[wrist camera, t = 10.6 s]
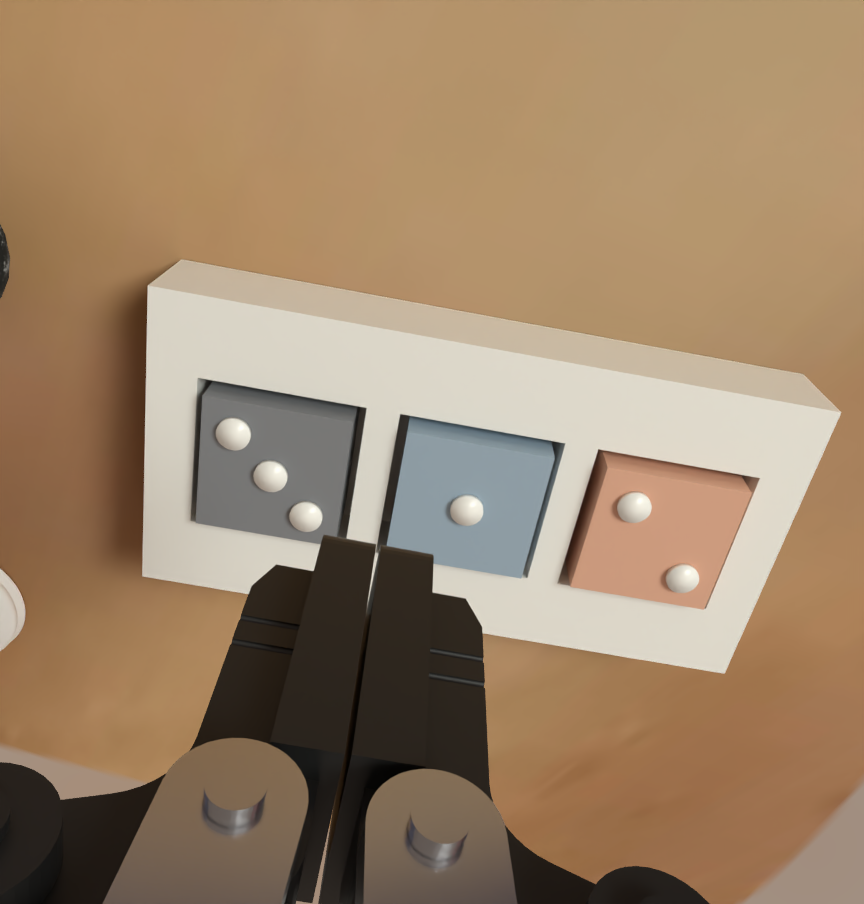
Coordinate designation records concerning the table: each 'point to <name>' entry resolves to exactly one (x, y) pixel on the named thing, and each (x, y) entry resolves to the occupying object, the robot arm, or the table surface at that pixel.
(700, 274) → the table surface
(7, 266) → the dark grey tall piece
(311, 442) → the three-dot button
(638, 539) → the two-dot button
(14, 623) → the chess piece
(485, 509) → the one-dot button
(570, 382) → the button panel
